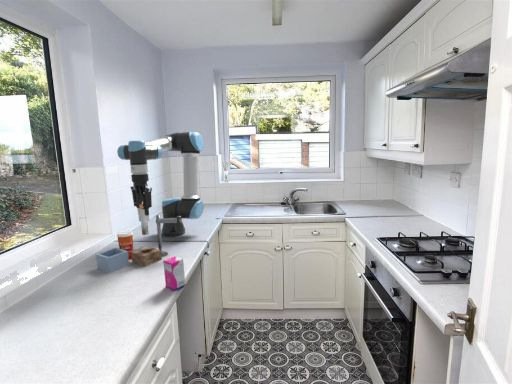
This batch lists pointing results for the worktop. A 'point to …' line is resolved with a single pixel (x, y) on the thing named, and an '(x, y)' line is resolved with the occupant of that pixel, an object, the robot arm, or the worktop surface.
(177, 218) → the grey tall angled piece
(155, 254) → the socket block
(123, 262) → the blue open box
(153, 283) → the worktop surface
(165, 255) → the base
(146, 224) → the pin
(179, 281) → the supplement box
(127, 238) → the paper cup
